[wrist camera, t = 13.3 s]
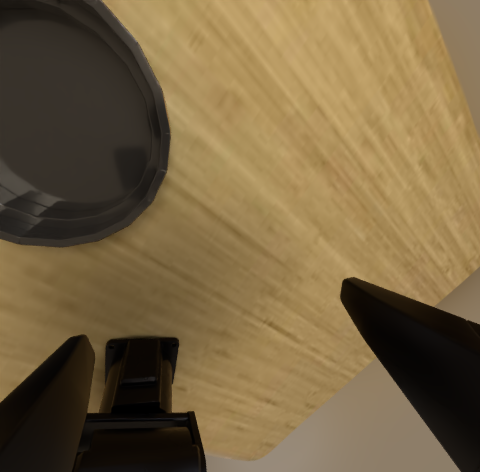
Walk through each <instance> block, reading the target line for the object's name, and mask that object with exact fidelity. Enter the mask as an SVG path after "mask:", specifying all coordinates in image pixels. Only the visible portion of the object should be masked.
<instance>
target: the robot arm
mask: <svg viewBox="0 0 480 472" xmlns="http://www.w3.org/2000/svg"><path fill="white" fill-rule="evenodd" d="M340 299H341V302H342V304H343V305H344V307H345V309H346V310H347V312H348V314H349V316H350V317H351V319H352V321H353V322H354V324H355V326H356V327H357V329H358V331H359V332H360V334H361V335H362V337H363V338H364V340H365V341H366V343H367V344H368V346H369V347H370V348H371V350H372V351H373V352H374V354H375V355H376V356H377V358H378V359H379V360H380V362H381V363H382V365H383V366H384V367H385V369H386V370H387V371H388V373H389V374H390V376H391V377H392V378H393V380H394V381H395V382H396V384H397V385H398V386H399V388H400V389H401V390H402V392H403V393H404V395H405V396H406V397H407V399H408V400H409V401H410V403H411V404H412V406H413V407H414V408H415V410H416V411H417V412H418V414H419V415H420V417H421V418H422V419H423V420H424V422H425V423H426V425H427V426H428V427H429V429H430V430H431V431H432V433H433V434H434V436H435V437H436V438H437V440H438V441H439V442H440V444H441V445H442V446H443V448H444V449H445V450H446V452H447V453H448V455H449V456H450V457H451V459H452V460H453V461H454V463H455V464H456V466H457V467H458V468H459V470H460V471H461V472H480V324H477V323H474V322H472V321H469V320H467V321H466V320H465V319H464V318H461V317H458V316H456V315H453V314H450V313H448V312H445V311H443V310H440V309H437V308H435V307H432V306H429V305H427V304H424V303H421V302H419V301H416V300H413V299H411V298H408V297H405V296H403V295H400V294H398V293H395V292H392V291H390V290H387V289H384V288H382V287H379V286H376V285H374V284H371V283H368V282H366V281H363V280H360V279H358V278H355V277H351V278H347V279H344V280H343V282H342V287H341V294H340ZM173 343H175V344H173ZM111 345H114V346H111ZM178 348H179V340H178V339H177V338H157V339H121V340H110V341H108V342H107V345H106V360H105V389H104V393H103V397H102V401H101V405H100V409H99V413H87V409H88V403H89V397H90V390H91V383H92V376H93V370H94V363H95V353H94V350H93V348H92V346H91V344H90V342H89V339H88V337H87V336H86V335H78V336H73V337H70V338H69V339H68V340H67V341H65V342H64V343H63V344H62V345H61V346H60V347H59V348H58V349H57V350H56V351H55V352H54V353H53V354H52V355H51V356H49V357H48V358H47V359H46V360H45V361H44V362H43V363H42V364H41V365H40V366H39V367H38V368H37V369H36V370H35V371H34V372H32V373H31V374H30V375H29V376H28V377H27V378H26V379H25V380H24V381H23V382H22V383H21V384H20V385H19V386H18V387H16V388H15V389H14V390H13V391H12V392H11V393H10V394H9V395H8V396H7V397H6V398H5V399H4V400H3V401H2V402H1V403H0V472H207V471H206V460H205V454H204V450H203V446H202V442H201V438H200V433H199V429H198V425H197V421H196V417H195V413H194V411H188V412H187V413H172V384H173V379H174V373H175V367H176V361H177V354H178Z"/></svg>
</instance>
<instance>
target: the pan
mask: <svg viewBox="0 0 480 472" xmlns="http://www.w3.org/2000/svg"><path fill="white" fill-rule="evenodd" d="M170 139H171V127H170V122H169V117H168V112H167V107H166V102H165V97H164V94H163V91H162V89H161V87H160V85H159V83H158V81H157V79H156V77H155V75H154V73H153V71H152V69H151V67H150V65H149V63H148V61H147V59H146V57H145V55H144V53H143V51H142V49H141V47H140V45H139V44H138V42H137V41H136V40H135V38H134V37H133V36H132V35H131V34H130V33H129V31H128V30H127V29H126V28H125V27H124V26H123V24H122V23H121V22H120V21H119V20H118V19H117V17H116V16H115V15H114V14H113V13H112V12H111V11H110V9H109V8H108V7H107V6H106V5H105V4H104V2H103V1H102V0H0V239H3V240H6V241H9V242H13V243H16V244H20V245H33V246H47V247H68V246H73V245H79V244H84V243H90V242H95V241H99V240H102V239H104V238H106V237H108V236H110V235H112V234H114V233H116V232H118V231H120V230H122V229H124V228H126V227H128V226H129V225H131V224H132V223H133V222H134V221H135V220H136V219H137V218H138V217H139V216H140V215H141V214H142V212H143V211H144V210H145V209H146V208H147V207H148V206H149V205H150V204H151V203H152V202H153V201H154V198H155V196H156V194H157V192H158V190H159V188H160V186H161V183H162V181H163V179H164V177H165V175H166V173H167V168H168V158H169V148H170Z"/></svg>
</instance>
